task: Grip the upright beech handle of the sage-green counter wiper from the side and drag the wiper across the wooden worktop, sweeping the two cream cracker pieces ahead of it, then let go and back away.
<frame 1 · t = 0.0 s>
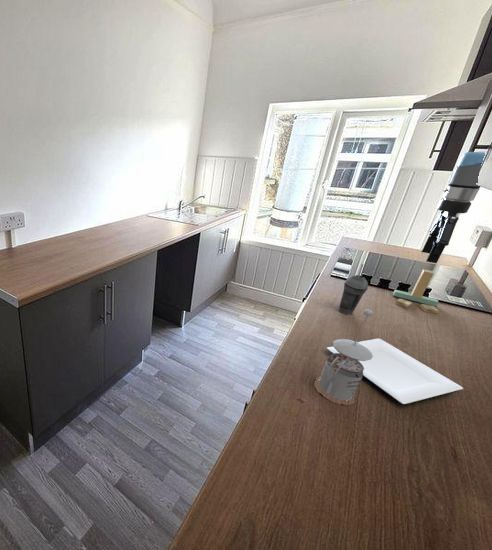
hand: (428, 257, 111), 23 cm above the worktop, tool pointing down, fingers open, 13 cm apart
crust b: (402, 304, 124), on the worktop
beverage cup: (345, 312, 117), on the worktop
plate: (386, 371, 86), on the worktop
wiper: (413, 300, 128), on the worktop
crust a: (428, 310, 120), on the worktop
french press: (332, 392, 78), on the worktop
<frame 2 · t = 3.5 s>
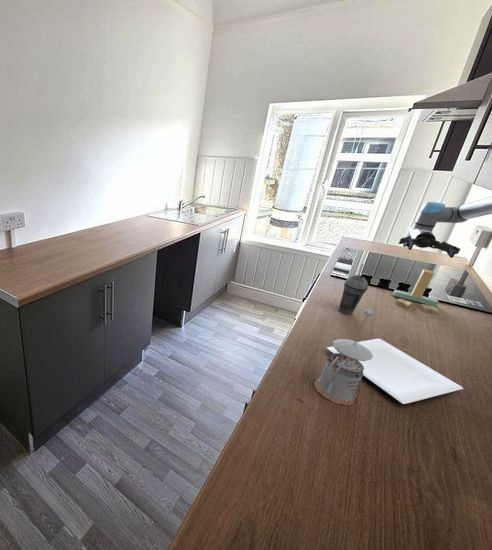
hand: (431, 250, 128), 20 cm above the worktop, tool horizontal, fingers open, 13 cm apart
nothing on the worktop moved.
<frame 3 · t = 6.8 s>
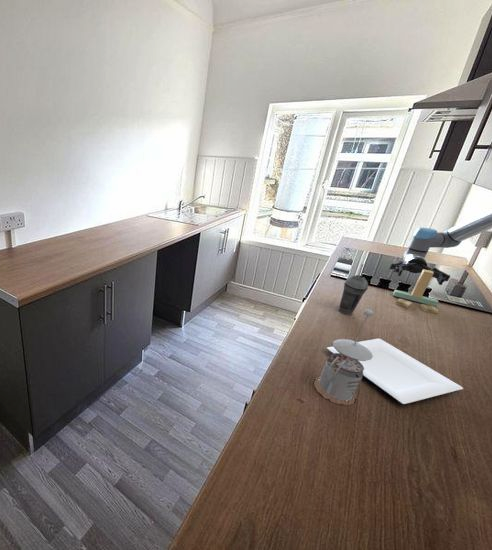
hand: (420, 277, 129), 9 cm above the worktop, tool horizontal, fingers open, 13 cm apart
nothing on the worktop moved.
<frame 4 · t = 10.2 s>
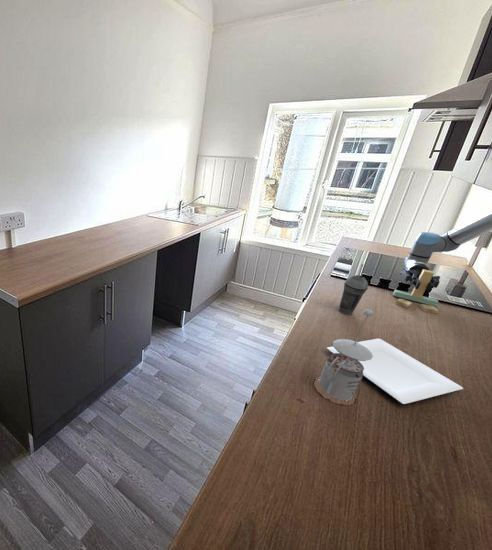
hand: (424, 287, 120), 8 cm above the worktop, tool horizontal, fingers closed on wiper, 3 cm apart
wiper: (413, 300, 128), on the worktop, touching gripper
everything else where it was.
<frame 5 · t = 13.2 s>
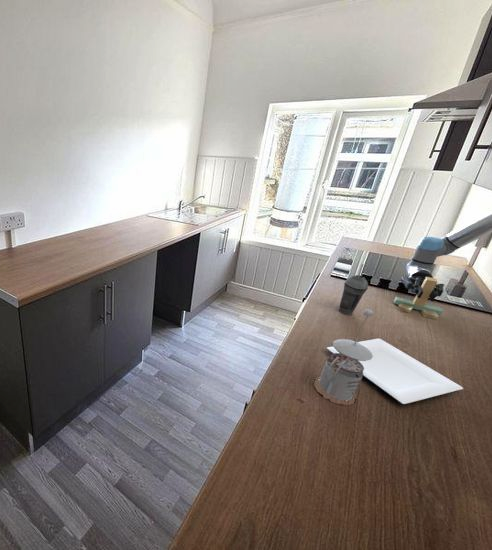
hand: (426, 296, 113), 8 cm above the worktop, tool horizontal, fingers closed on wiper, 3 cm apart
crust b: (404, 309, 120), on the worktop, touching wiper
wiper: (415, 308, 121), on the worktop, tilted 6°, touching crust a, crust b, gripper
crust a: (428, 315, 116), on the worktop, touching wiper
everything else where it was.
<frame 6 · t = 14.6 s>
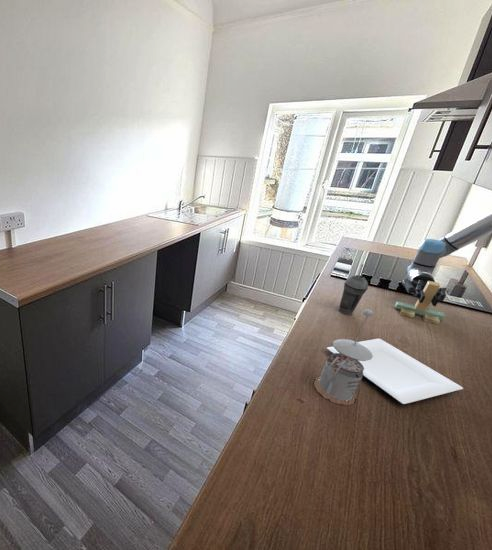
hand: (429, 301, 109), 8 cm above the worktop, tool horizontal, fingers closed on wiper, 3 cm apart
crust b: (406, 314, 117), on the worktop, touching wiper
wiper: (417, 313, 117), on the worktop, tilted 6°, touching crust a, crust b, gripper
crust a: (430, 320, 113), on the worktop, touching wiper
everything else where it was.
when the fingers open (8 cm above the worktop, at t = 14.6 s): wiper stays where it is, on the worktop.
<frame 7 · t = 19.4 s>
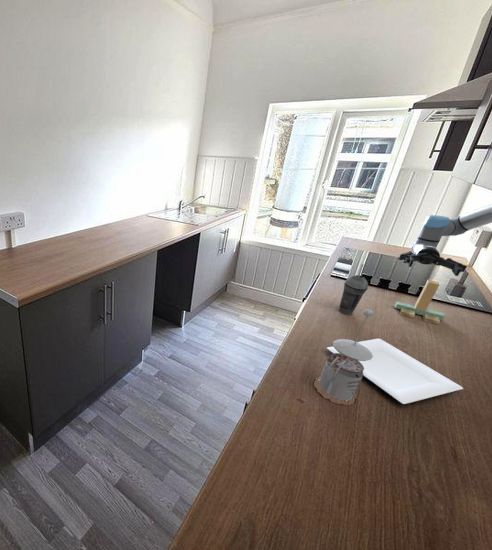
hand: (434, 268, 117), 17 cm above the worktop, tool horizontal, fingers open, 13 cm apart
crust b: (406, 314, 117), on the worktop
wiper: (417, 313, 117), on the worktop
crust a: (430, 320, 113), on the worktop
everything else where it was.
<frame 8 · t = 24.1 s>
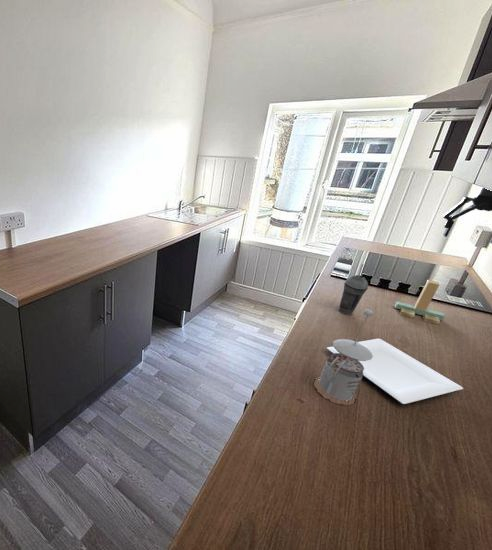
hand: (467, 239, 121), 27 cm above the worktop, tool pointing down, fingers open, 13 cm apart
nothing on the worktop moved.
at the end: wiper moved 14.0 cm from its start; crust a inside the target area (3.6 cm from its centre), on the worktop; crust b inside the target area (3.6 cm from its centre), on the worktop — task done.
